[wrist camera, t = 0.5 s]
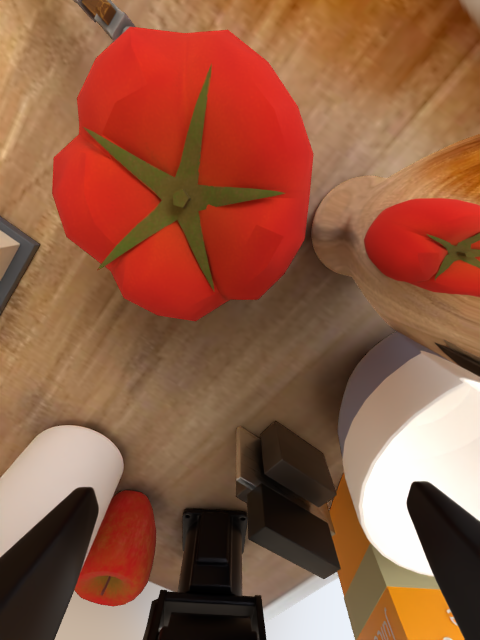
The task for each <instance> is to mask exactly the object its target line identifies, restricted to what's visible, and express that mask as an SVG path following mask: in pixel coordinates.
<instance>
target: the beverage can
mask: <svg viewBox="0 0 480 640" xmlns="http://www.w3.org/2000/svg"><path fill="white" fill-rule="evenodd" d="M123 469H124V463H123V458H122V455H121V453H120V451H119V450H118V448H117V447H116V446H115V444H114V443H113V442H112V441H110V440H109V439H108V438H107V437H105V436H104V435H102V434H100V433H98V432H96V431H94V430H92V429H89V428H85V427H81V426H75V425H62V426H56V427H52V428H49V429H46V430H44V431H43V432H41V433H40V434H38V435H37V436H36V437H35V438H34V439H33V441H32V442H31V443H30V444H29V445H28V446H27V448H26V449H25V450H24V451H23V452H22V453H21V454H20V456H19V457H18V458H17V459H16V460H15V461H14V463H13V464H12V465H11V466H10V467H9V468H8V470H7V471H6V472H5V473H4V474H3V475H2V477H1V478H0V557H1V556H2V555H3V554H4V553H5V552H7V551H8V550H9V549H10V548H11V547H12V546H13V545H14V544H15V543H16V542H18V541H19V540H20V539H21V538H22V537H23V536H24V535H25V534H26V533H27V532H28V531H30V530H31V529H32V528H33V527H34V526H35V525H36V524H37V523H38V522H39V521H41V520H42V519H43V518H44V517H45V516H46V515H47V514H48V513H49V512H50V511H52V510H53V509H54V508H55V507H56V506H57V505H58V504H59V503H60V502H61V501H62V500H64V499H65V498H66V497H67V496H68V495H69V494H70V493H71V492H72V491H73V490H75V489H76V488H78V487H92V488H93V489H94V491H95V495H96V498H97V502H98V506H99V513H98V517H97V520H96V523H95V527H94V530H93V533H92V536H91V540H90V543H89V546H88V549H87V553H86V556H85V559H84V562H83V565H84V563H85V560H86V558H87V556H88V553H89V551H90V549H91V546H92V544H93V542H94V539H95V537H96V535H97V532H98V530H99V528H100V525H101V523H102V520H103V518H104V516H105V513H106V511H107V509H108V506H109V504H110V502H111V499H112V497H113V495H114V492H115V490H116V488H117V485H118V483H119V480H120V478H121V476H122V473H123ZM82 568H83V566H82ZM81 570H82V569H81Z"/></svg>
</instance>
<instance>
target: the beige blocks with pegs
mask: <svg viewBox="0 0 480 640" xmlns="http://www.w3.org/2000/svg"><path fill="white" fill-rule="evenodd" d="M39 245H40V244H39V243H37V242H36V241H34V240H33V239H31V238H30V237H29V236H27V235H26V234H24V233H23V232H22V231H20V230H19V229H17V228H16V227H14V226H13V225H12V224H10V223H9V222H7V221H6V220H4V219H3V218H2V217H0V314H1V313H2V311H3V309H4V307H5V306H6V304H7V302H8V300H9V298H10V297H11V295H12V293H13V291H14V290H15V288H16V286H17V284H18V283H19V281H20V279H21V277H22V275H23V274H24V272H25V270H26V268H27V267H28V265H29V263H30V261H31V260H32V258H33V256H34V254H35V253H36V251H37V249H38V247H39Z"/></svg>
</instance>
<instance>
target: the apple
mask: <svg viewBox="0 0 480 640" xmlns="http://www.w3.org/2000/svg"><path fill="white" fill-rule="evenodd" d="M155 546H156V527H155V521H154V514H153V509H152V506H151V504H150V501H149V499H148V498H147V497H146V495H144V494H143V493H141V492H137V491H128V490H123V491H122V492H120V493H118V494H116V495H115V496H114V497H113V498H112V499H111V502H110V504H109V506H108V509H107V511H106V513H105V516H104V518H103V520H102V523H101V525H100V528H99V530H98V532H97V535H96V537H95V539H94V542H93V544H92V546H91V549H90V551H89V553H88V556H87V558H86V560H85V563H84V565H83V568H82V570H81V572H80V575H79V578H78V581H77V584H76V586H75V589H74V590H75V592H76V593H77V594H78V595H79V596H80V597H81V598H83V599H86V600H88V601H91V602H94V603H97V604H101V605H108V606H118V605H124V604H126V603H128V602H130V601H132V600H134V599H135V598H136V597H137V596H138V595H139V594H140V593H141V592H142V591H143V589H144V587H145V586H146V584H147V583H148V579H149V576H150V572H151V569H152V564H153V559H154V554H155Z"/></svg>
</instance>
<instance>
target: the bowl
mask: <svg viewBox="0 0 480 640" xmlns="http://www.w3.org/2000/svg"><path fill="white" fill-rule="evenodd" d="M338 436H339V442H340V448H341V454H342V459H343V461H342V462H343V468H344V474H345V479H346V483H347V486H348V489H349V492H350V495H351V498H352V501H353V505H354V508H355V511H356V514H357V517H358V520H359V523H360V525H361V527H362V529H363V531H364V533H365V535H366V537H367V539H368V540H369V541H370V542H371V544H372V545H373V546H374V547H375V548H376V549H377V550H378V551H379V552H380V553H381V554H382V555H383V556H384V557H386V558H388V559H389V560H391V561H392V562H394V563H395V564H397V565H398V566H401V567H403V568H406V569H408V570H411V571H414V572H416V573H419V574H424V575H428V576H433V577H434V575H433V573H432V570H431V568H430V566H429V563H428V561H427V558H426V556H425V553H424V550H423V548H422V545H421V543H420V540H419V538H418V535H417V533H416V530H415V528H414V525H413V522H412V520H411V517H410V515H409V512H408V509H407V504H406V502H407V497H408V494H409V490H410V487H411V484H412V483H413V482H414V481H427V482H430V483H431V484H433V485H434V486H435V487H437V488H438V489H439V490H440V491H442V492H443V493H444V494H446V495H447V496H448V497H449V498H451V499H452V500H453V501H455V502H456V503H457V504H458V505H460V506H461V507H462V508H463V509H465V510H466V511H467V512H469V513H470V514H471V515H472V516H474V517H475V518H476V519H478V520H479V521H480V393H479V392H477V391H476V390H474V389H473V388H471V387H470V386H468V385H467V384H465V383H464V382H462V381H461V380H459V379H458V378H456V377H455V376H453V375H452V374H450V373H449V372H447V371H446V370H444V369H443V368H441V367H440V366H439V365H437V364H436V363H434V362H433V361H432V360H430V359H429V358H428V357H426V356H425V355H424V354H422V353H421V352H420V351H418V350H417V349H416V348H414V347H413V346H412V345H411V344H409V343H408V342H407V341H406V340H405V339H404V338H403V337H401V336H400V335H399V334H398V333H397V332H395V333H393V334H391V335H390V336H388V337H386V338H385V339H383V340H382V341H380V342H379V343H378V344H377V345H376V346H374V347H373V348H372V349H371V350H370V351H368V353H367V354H366V355H365V356H364V357H363V358H362V360H361V361H360V362H359V363H358V364H357V366H356V367H355V369H354V371H353V373H352V374H351V376H350V378H349V380H348V383H347V386H346V389H345V392H344V395H343V400H342V404H341V408H340V412H339V420H338Z"/></svg>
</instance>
